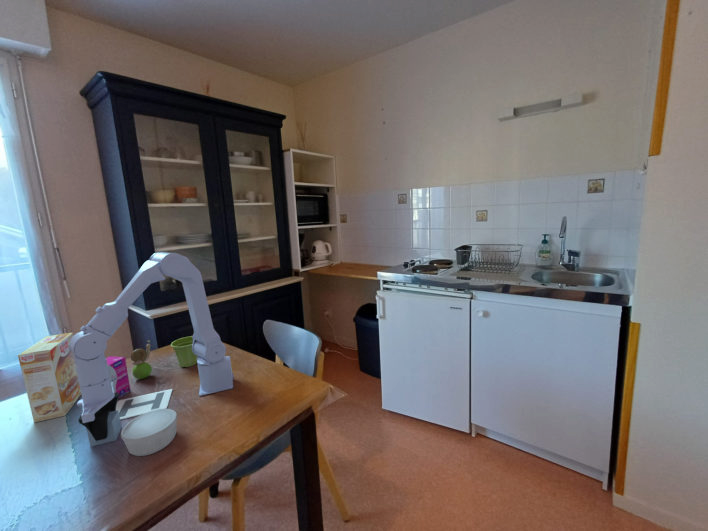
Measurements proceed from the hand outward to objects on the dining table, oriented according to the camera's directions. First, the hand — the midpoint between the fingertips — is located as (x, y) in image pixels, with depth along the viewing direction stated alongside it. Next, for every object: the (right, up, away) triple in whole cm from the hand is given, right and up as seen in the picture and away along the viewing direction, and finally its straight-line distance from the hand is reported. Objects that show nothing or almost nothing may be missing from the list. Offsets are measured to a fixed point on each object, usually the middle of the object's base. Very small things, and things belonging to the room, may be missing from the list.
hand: (105, 431), depth 78 cm
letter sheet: (0, +1, +13) cm, 13 cm away
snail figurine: (-9, +3, +30) cm, 31 cm away
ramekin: (+13, -1, -2) cm, 14 cm away
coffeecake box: (-25, 0, +16) cm, 29 cm away
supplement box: (-12, +1, +19) cm, 22 cm away
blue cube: (0, -1, 0) cm, 1 cm away
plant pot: (+1, +5, +38) cm, 38 cm away
